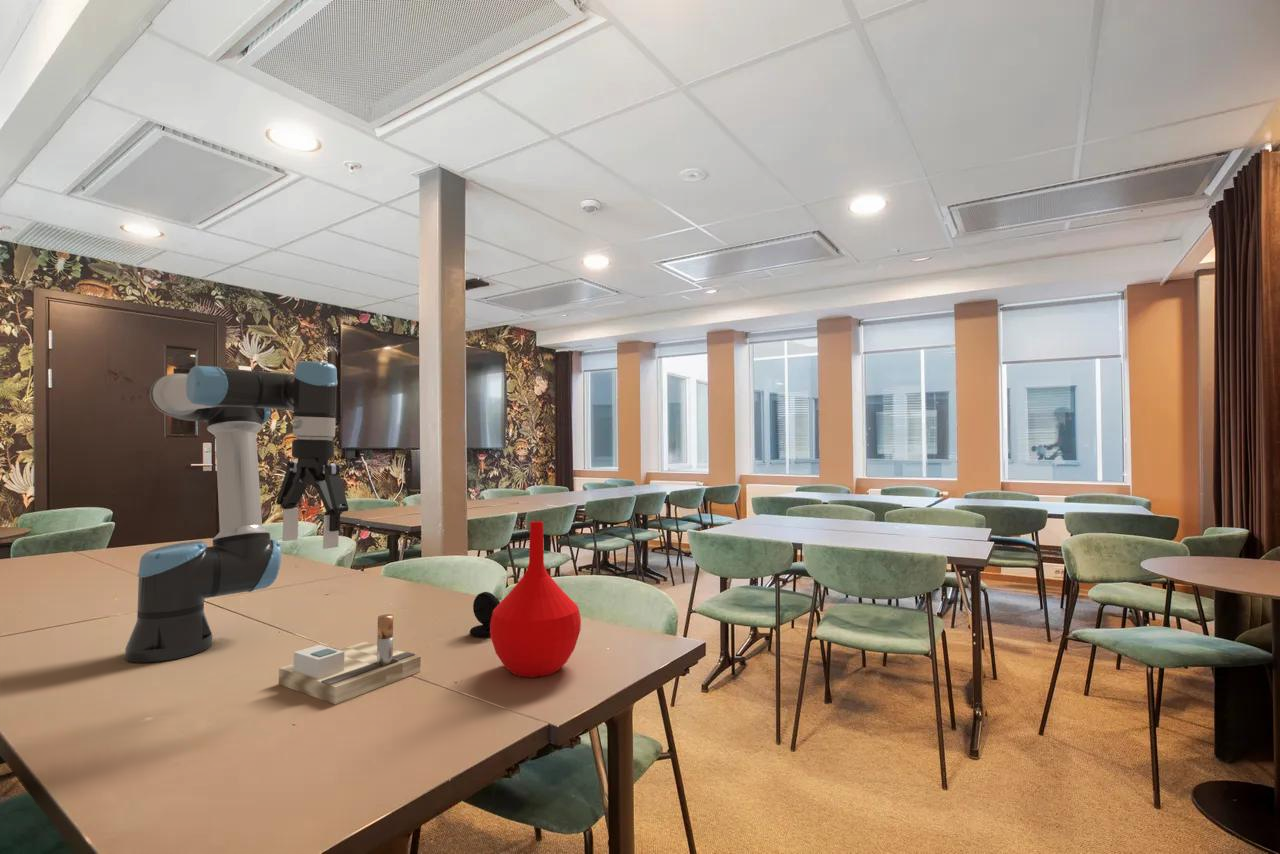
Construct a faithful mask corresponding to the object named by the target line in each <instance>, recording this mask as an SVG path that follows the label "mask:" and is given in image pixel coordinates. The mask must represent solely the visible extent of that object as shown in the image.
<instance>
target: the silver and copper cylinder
mask: <svg viewBox="0 0 1280 854" xmlns="http://www.w3.org/2000/svg"><path fill="white" fill-rule="evenodd" d="M376 643H377V644H376V645H377V665H379V666H381V667H385V666H388V665H391V664H393V649H394V615H393V614H389V613H388V614H387V613H386V614H382V615H378V616H377V639H376Z"/></svg>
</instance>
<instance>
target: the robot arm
mask: <svg viewBox="0 0 1280 854" xmlns="http://www.w3.org/2000/svg"><path fill="white" fill-rule="evenodd" d="M294 367H295V369H294V372H293V373H282V372H273V371H272V372H270V371H260V370H259V371H258V370H249V369H248V370H245V369H237V368H229V367H221V366H215V365H208V366H207V365H206V366H205V365H195V366H193V367H191V368H190V370H189V372H188V373H170V374H167V375H164V376H161V377H159V378H158V379H156V380H155V381H154V382H153V384H152V386H151V387H150V391H149V400H150V402H151V404H152V405H153V406H154V407H155V409H156V410H158V411H159V412H160V413H162V414H164V415H167V417H171V418H174V419H177V420H183V421H189V422H204V423H205V422H206V429H207V431H208V432H209V433H210V434H212V435H213V436H214V437H215V455H216V476H217V479H216V481H217V495H218V497H217V499H218V515H219V516H218V517H219V532H218V533H217V534H216V535H215V536H214V537H213V538H212V546H207V544H206V542H205V541H201V540H198V541H188V542H187V541H186V542H185V541H184V542H178V543H173V544H169V545H164V546H159V547H157V548H154V549H151V550H148V551H147V552H145V553H143V554H142V556H141V557H140V560H139V566H138V571H137V578H138V583H137V585H138V587H137V613H136V614H137V617H136V623H135V625H134V627H133V629H132V633H131V634H130V637H129V639H128V641H127V644H126V647H125V649H124V650H125V654H124V659H125V661H126V662H130V663H136V664H137V663H140V664H141V663H156V662H165V661H171V660H176V659H181V658H185V657H190V656H193V655H196V654H198V653H201V652H204V651H207V650H208V649H210V648H211V647H212V646H213V633H212V630H211V628H210V625H209V622H208V619H207V617H206V614H205V599H208V598H209V599H210V598H214V597H215V598H217V597H222V596H228V595H234V594H241V593H246V592H247V593H251V592H253V591H257V590H262V589H263V590H264V589H266V588H269V587H270V586H271V585H273V584H274V583H275V581H276V579H277V577H278V575H279V571H280V568H281V564H282V548H281V546H280V543H279V541H278V540H276V539H271V532H270V531H269V530H267V529H266V528H265V527H264V526H263V520H262V506H261V503H262V502H261V488H260V487H261V486H260V472H259V471H260V470H259V457H258V443H257V434H259V432H260V431H261V430H262V429H263V426H264V425H263V424H266V423H267V422H268V421H269V419H270V416H271V410H283V411H291V412H292V411H293V413H292V415H293V421H292V427H293V428H292V436H293V437H295V438H296V439H293V440H292V441H291V442H292V443H291V457H292V458H293V459H297V460H291V461H290V460H288V461H287V463H286V470H285V471H286V472H285V474H284V477H283V481H282V483H281V486H280V489H279V492H278V495H277V498H276V502H275V503H276V505H277V506H278V505H280V507H281V509H282V510H283V512H282V518H283V519H282V537H281V538H282V540H281V541H283V542H288V541H296V540H298V535H299V533H298V532H299V515H300V514H299V511H300V508H299V507H300V506H299V504H298V503H299V501H300V500H301V498H302V496H303V495H304V493H305V491H306V489H307V488H308V487H309V486H312V487H313V488H315V489H316V491H317V493H318V496H319V498H320V500H321V502H322V504H323V506H324V509H325V512H324V513H323V536H322V538H323V539H322V549H324V550H326V549H333V548H338V547H339V540H340V539H339V538H340V537H339V535H340V532H339V531H340V529H341V528H340V525H341V515H342V514H343V513H345V512H348V511H349V504H348V500H347V497H346V492H345V489H344V485H343V481H342V477H341V474H340V470H341V469H340V468H341V467H340V464H339V463H329V459H332V458H334V457H335V441H334V440H333V438H335V437H336V413H337V412H336V411H337V391H338V370H337V367H336V366H335V364H332V363H329V362H322V361H305V360H304V361H299V362H297V363H296V364H295V366H294Z"/></svg>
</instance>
